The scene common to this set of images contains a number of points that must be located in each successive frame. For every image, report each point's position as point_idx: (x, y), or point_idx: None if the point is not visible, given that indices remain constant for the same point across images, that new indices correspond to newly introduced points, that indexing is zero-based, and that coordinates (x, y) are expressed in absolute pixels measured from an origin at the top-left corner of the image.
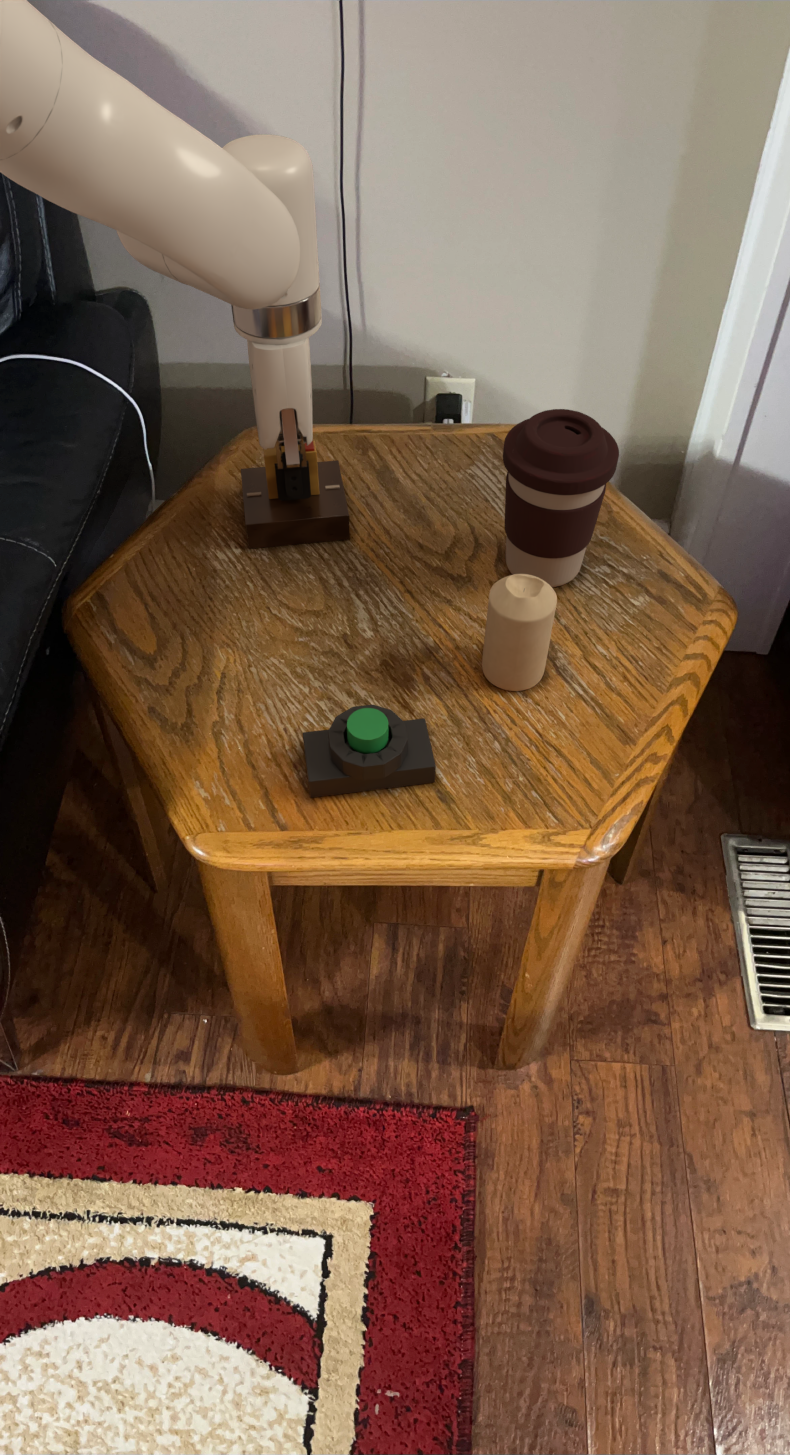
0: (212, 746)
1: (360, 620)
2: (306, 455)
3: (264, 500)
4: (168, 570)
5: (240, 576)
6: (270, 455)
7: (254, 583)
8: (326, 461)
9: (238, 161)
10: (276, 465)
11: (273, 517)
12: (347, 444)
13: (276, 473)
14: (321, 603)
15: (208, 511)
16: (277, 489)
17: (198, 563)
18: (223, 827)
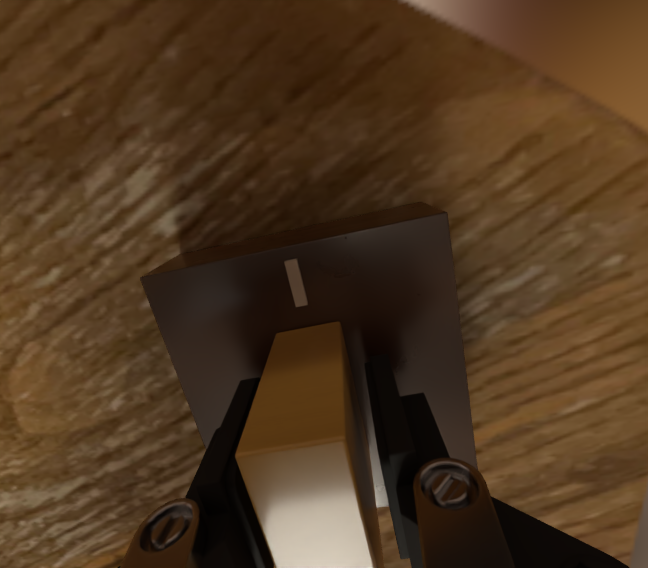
0: None
1: (18, 495)
2: None
3: (270, 318)
4: (38, 27)
5: (73, 248)
6: (246, 480)
7: (58, 285)
8: (475, 465)
9: None
10: (206, 489)
11: (189, 355)
12: (622, 439)
13: (210, 457)
14: (40, 428)
15: (329, 103)
16: (230, 403)
17: (92, 120)
18: None
